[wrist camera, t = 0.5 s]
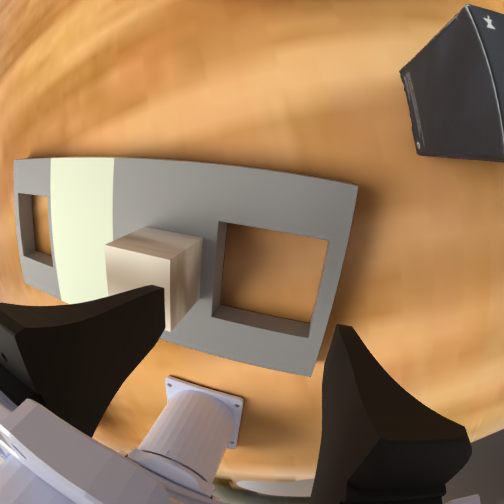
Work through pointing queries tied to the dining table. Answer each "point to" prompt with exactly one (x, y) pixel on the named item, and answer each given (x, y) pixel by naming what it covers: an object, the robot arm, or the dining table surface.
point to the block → (157, 268)
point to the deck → (190, 223)
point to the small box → (459, 88)
